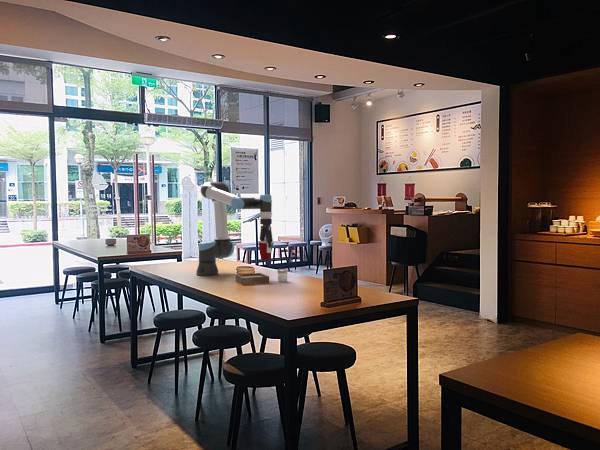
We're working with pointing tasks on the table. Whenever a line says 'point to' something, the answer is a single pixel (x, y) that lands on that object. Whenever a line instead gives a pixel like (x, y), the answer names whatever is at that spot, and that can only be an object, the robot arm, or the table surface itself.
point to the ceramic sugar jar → (282, 275)
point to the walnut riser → (252, 278)
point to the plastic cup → (264, 250)
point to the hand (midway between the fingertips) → (266, 251)
